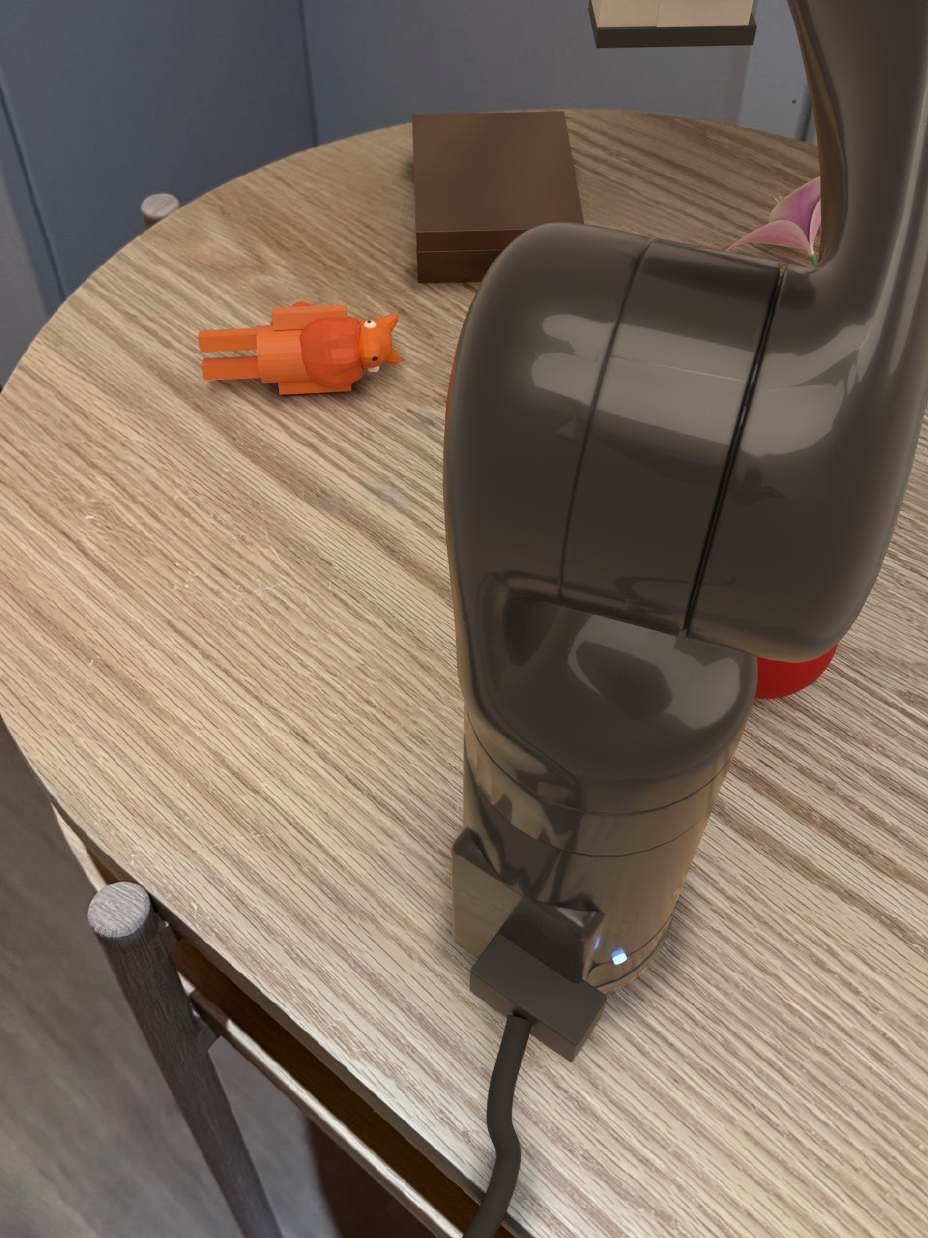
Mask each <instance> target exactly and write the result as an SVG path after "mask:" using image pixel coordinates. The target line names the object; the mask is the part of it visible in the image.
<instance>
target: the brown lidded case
mask: <svg viewBox="0 0 928 1238" xmlns="http://www.w3.org/2000/svg"><path fill="white" fill-rule="evenodd" d="M566 119H567V118H566V114H565V111H563V110H562V111H560V110H559V111H558V110H557V111H556V110H555V111H518V112H515V111H514V112H475V113H474V112H471V113H433V114H432V113H431V114H426V113H425V114H411V131H412V133H411V135H412V159H413V163H412V164H413V191H414V219H415V245H416V272H417V274H416V275H417V276H416V277H417V283H418V284H432V283H433V284H435V283H436V284H438V283H439V284H440V283H473V282H481V281H482V279H483V277H484V276H485V274H486V273H487V271H488V269H489V268H490V266H491V265H492V263H493V262H494V260H495V259H496V258H497V256H498V255H499V254H500V253H501V252H502V251H503V250H504V249H505V248H506V247H507V246H508V245H509V244H510V243H511V242H512V241H513V240H514V239H515V238H516V237H517V236H519V235H520V234H522V233H524V232H525V231H527V230H529V229H531V228H532V227H534V226H537V225H541V224H545V223H550V222H574V223H581V224H585V219H584V215H583V209H582V203H581V199H580V191H579V185H578V180H577V176H576V170H575V164H574V158H573V152H572V146H571V143H570V142H571V141H570V136H569V131H568V125H567V120H566Z"/></svg>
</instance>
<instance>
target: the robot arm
mask: <svg viewBox="0 0 928 1238" xmlns="http://www.w3.org/2000/svg"><path fill="white" fill-rule="evenodd" d="M786 2H787V5H788V8H789V11H790V15H791V18H792V22H793V25H794V28H795V32H796V36H797V40H798V46H799V49H800V53H801V58H802V63H803V67H804V71H805V75H806V81H807V85H808V90H809V95H810V101H811V106H812V113H813V118H814V127H815V134H816V144H817V153H818V154H817V155H818V165H819V166H818V168H819V176H820V197H821V223H820V237H819V247H818V248H819V249H818V259H817V265H816V266H814V267H813V266H811V267H807V266H806V267H805V266H800V265H796V264H792V263H788V264H786V265H785V266H784V270H783V271H781V268H782V263H781V262H780V261H777V260H771V259H766V258H761V257H757V256H756V257H755V256H751V255H748V254H747V255H746V254H740V253H736V252H731V251H727V250H726V251H721V250H718V249H717V248H711V247H706V246H702V245H697V244H691V243H687V242H686V243H685V242H681V241H676V240H672V239H671V240H670V239H667V238H661V237H657V238H654V237H653V236H648V235H643V234H638V233H634V232H628V231H624V230H619V229H613V228H608V227H604V226H600V225H599V226H598V225H592V224H586V223H584V224H581V223H574V222H550V223H545V224H541V225H537V226H534V227H532V228H531V229H529V230H527V231H525V232H524V233H522V234H520V235H519V236H517V237H516V238H515V239H514V240H513V241H512V242H511V243H510V244H509V245H508V246H507V247H506V248H505V249H504V250H503V251H502V252H501V253H500V254H499V255H498V256H497V258H496V259H495V260H494V262H493V263H492V265H491V266H490V268H489V269H488V271H487V273H486V274H485V276H484V277H483V279H482V281H480V283H479V285H478V287H477V290H476V292H475V294H474V296H473V298H472V300H471V302H470V305H469V307H468V309H467V312H466V315H465V317H464V321H463V323H462V327H461V330H460V333H459V337H458V340H457V344H456V349H455V352H454V357H453V362H452V367H451V370H450V371H451V372H450V377H449V382H448V386H447V387H448V388H447V394H446V395H447V396H446V400H445V401H446V402H445V414H444V426H443V429H444V430H443V445H442V503H443V519H444V532H445V533H444V534H445V546H446V554H447V562H448V564H447V565H448V572H449V581H450V590H451V598H452V599H451V600H452V608H453V609H452V610H453V619H454V630H455V654H456V655H455V656H456V671H457V679H458V685H459V689H460V692H461V695H462V697H463V764H462V765H463V773H462V774H463V779H462V780H463V781H462V782H463V784H462V785H463V789H462V791H463V792H462V795H463V803H462V804H463V805H462V807H463V808H462V812H463V813H462V820H463V821H462V822H463V823H462V825H463V827H462V830H461V832H460V833H459V834H458V836H457V837H456V838H455V839H454V840H453V842H452V844H451V847H450V862H451V863H450V868H451V869H450V870H451V925H452V926H451V927H452V929H451V930H452V932H451V933H452V940H453V941H454V942H455V944H458V945H459V946H460V947H462V948H463V949H464V950H466V951H467V952H469V953H470V954H472V955H474V956H475V957H476V958H478V959H477V960H476V961H475V962H474V964H473V965H472V966H471V968H470V969H469V988H468V989H469V992H470V993H472V994H473V995H474V996H475V997H476V998H478V999H480V1000H481V1001H483V1002H484V1003H485V1004H487V1005H488V1006H490V1007H491V1008H492V1009H494V1010H495V1011H497V1012H498V1013H499V1014H501V1015H502V1016H504V1017H505V1018H506V1022H505V1025H504V1031H503V1034H502V1037H501V1041H500V1044H499V1048H498V1050H497V1054H496V1058H495V1061H494V1065H493V1068H492V1073H491V1077H490V1082H489V1087H488V1093H487V1100H486V1101H487V1103H486V1115H485V1116H486V1127H487V1132H488V1135H489V1138H490V1140H491V1143H492V1145H493V1148H494V1152H495V1160H494V1161H495V1162H494V1165H493V1169H492V1173H491V1177H490V1181H489V1183H488V1186H487V1189H486V1192H485V1194H484V1197H483V1199H482V1201H481V1204H480V1205H479V1208H478V1210H477V1211H476V1214H475V1215H474V1217H473V1218H472V1220H471V1222H470V1224H469V1226H468V1227H467V1228H466V1230H465V1231H464V1233H463V1234H462V1236H461V1238H494V1237H495V1235H496V1233H497V1232H498V1230H499V1228H500V1226H501V1225H502V1222H503V1220H504V1218H505V1215H506V1213H507V1211H508V1209H509V1207H510V1203H511V1200H512V1197H513V1195H514V1192H515V1190H516V1189H515V1188H516V1186H517V1181H518V1177H519V1173H520V1169H521V1164H522V1148H521V1142H520V1140H519V1137H518V1134H517V1132H516V1130H515V1129H516V1128H515V1126H514V1122H513V1105H514V1098H515V1097H514V1096H515V1091H516V1086H517V1082H518V1077H519V1073H520V1069H521V1067H522V1062H523V1060H524V1059H523V1058H524V1055H525V1052H526V1048H527V1044H528V1041H529V1038H530V1035H531V1036H532V1037H534V1038H535V1039H536V1040H538V1041H539V1042H541V1043H542V1044H544V1045H545V1046H546V1047H548V1048H549V1049H550V1050H552V1051H553V1052H555V1053H556V1054H558V1055H559V1056H561V1057H562V1058H563V1059H565V1060H566V1061H568V1062H569V1063H573V1062H574V1061H575V1060H576V1058H577V1056H578V1055H579V1053H580V1051H581V1050H582V1048H583V1047H584V1045H585V1044H586V1043H587V1041H588V1040H589V1037H590V1035H591V1034H592V1033H593V1031H594V1029H595V1028H596V1026H597V1024H598V1023H599V1021H600V1020H601V1019H602V1016H603V1013H604V1010H605V1007H606V1004H607V1000H608V995H610V994H613V993H615V992H617V991H620V990H621V989H623V988H625V987H627V986H628V985H630V984H631V983H632V982H634V981H635V980H637V979H638V978H639V977H641V976H642V975H643V974H644V973H645V972H646V971H647V970H648V969H649V968H650V966H651V965H652V964H653V963H654V961H655V960H656V959H657V957H658V955H659V954H660V953H661V950H662V948H663V946H664V945H665V941H666V939H667V937H668V933H669V932H670V929H671V927H672V926H671V925H672V924H673V923H672V922H673V918H674V913H675V909H676V907H677V904H678V902H679V899H680V895H681V893H682V890H683V887H684V885H685V883H686V881H687V877H688V874H689V872H690V869H691V867H692V864H693V861H694V859H695V857H696V854H697V851H698V848H699V846H700V843H701V841H702V838H703V836H704V833H705V831H706V828H707V826H708V822H709V820H710V817H711V815H712V812H713V810H714V807H715V804H716V801H717V800H718V797H719V794H720V791H721V788H722V786H723V784H724V782H725V779H726V777H727V775H728V772H729V769H730V767H731V764H732V761H733V759H734V756H735V753H736V751H737V749H738V746H739V744H740V741H741V739H742V736H743V734H744V730H745V728H746V726H747V722H748V720H749V718H750V715H751V712H752V708H753V705H754V700H755V699H754V697H755V694H756V687H757V678H758V667H757V657H760V658H764V659H769V660H775V661H783V662H790V663H799V662H807V661H810V660H813V659H816V658H818V657H820V656H822V655H823V654H825V653H827V652H828V651H830V650H831V649H832V648H833V647H834V646H835V645H836V644H838V645H839V643H840V641H842V639H843V638H844V637H845V636H846V634H847V633H848V632H849V631H850V629H851V628H852V627H853V625H854V623H855V622H856V621H857V619H858V618H859V616H860V614H861V612H862V610H863V608H864V607H865V604H866V602H867V601H868V598H869V596H870V594H871V592H872V591H873V588H874V586H875V585H876V583H877V579H878V577H879V574H880V571H881V568H882V566H883V563H884V561H885V558H886V555H887V553H888V550H889V548H890V544H891V542H892V539H893V536H894V534H895V530H896V526H897V523H898V520H899V516H900V513H901V510H902V506H903V503H904V499H905V496H906V493H907V490H908V486H909V483H910V478H911V475H912V470H913V465H914V461H915V457H916V452H917V448H918V445H919V439H920V436H921V432H922V427H923V422H924V418H925V414H926V411H927V406H928V0H786Z"/></svg>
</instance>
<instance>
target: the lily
mask: <svg viewBox="0 0 928 1238" xmlns="http://www.w3.org/2000/svg"><path fill="white" fill-rule="evenodd" d="M781 194H782V195H781ZM777 197H778V198H779V200H778V199H776V198H775V197H773V196H772V195H771V196H770V198H771V199H772V200H773V201H776V202H777V204H776V205H775V206H774V208H772V210H771V212H770V214H769V217H768V223H766V224H764V225H761V226H760V227H758V228H757V229H754V230H753V231H752V232H749V233H748V234H746V235H745V236H743V237H742V238H739V239H736V240H732V241H730V242H728V243H726V244H725V245H723V246H721V247H719V248H718V249H717V250H721V251H726V252H727V251H729V250H730V249H733V248H735V247H738V246H739V245H742V244H749V243H751V244H765V245H771V246H772V245H773V246H779V247H787V248H790V249H791V248H793V249H797V250H803V251H805V252H806V253H807V254H808V256H809V259H810V261H811V263H812V267H814V266H816V265H817V264H818V260H817V258H816V254H815V251H814V245H815V240H816V237H817V233H818V232H819V228H820V227H821V197H820V175H819V176H816V177H814V178H813V179H812V180H809V181H808V182H806V183H805V184H803V185H801V186H800V187H798V188H796V189H794V190H793V191H792V192H790V193H789V194H788V195H786V196H785V194H784V192H782V193H777Z"/></svg>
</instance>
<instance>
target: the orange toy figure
mask: <svg viewBox="0 0 928 1238" xmlns="http://www.w3.org/2000/svg"><path fill="white" fill-rule="evenodd" d="M347 304H348V303H347ZM347 304H346V303H345V304H343V303H342V304H325V305H323V304H322V305H314V304H311V303H308V302H306V301H304V300H300V301H296V302H295V303H293V304H292V305H290V306H282V307H280V306H278V307H272V310H271V318H272V319H271V321H270V324H267V325H265V324H264V325H257V326H256V327H242V328H241V327H240V328H223V329H222V328H220V329H200V330H199V332H198V335H197V341H198V348H199V353H200V354H205V353H206V354H208V353H228V352H229V353H230V352H251V351H256V354H257V355H242V356H241V355H240V356H239V355H238V356H220V357H219V356H218V357H203V358H202V361H201V373H202V378H203V381H204V382H205V381H223V380H224V381H225V380H245V379H260V380H261V383H262V384H277V383H278V384H277V385H278V393H279V396H280V395H297V394H318V393H319V394H320V393H321V394H322V393H339V392H352V384H353V383H355V382H358V381H360V380H361V378H362V377H363V376H364V374H365V369H366V370H367V371H368V372H369V373H371V374H372V375H375V374H376V373H377V372H379V370H380V366H381V365H383V364H386V365H393V366H396V365H398V364H400V363H401V362H402V357H401V354H400V353H399V352H398V351H397V350H396V349H395V348H394V347H393V338H392V337H393V336H392V333H393V331H394V329H395V328H396V326H397V325H398V323H399V314H398V313H397V312H392V313H390V314H387V315H384V316H381V317H379V318H364V319H359V318H357V317H354V316H348V305H347Z"/></svg>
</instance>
